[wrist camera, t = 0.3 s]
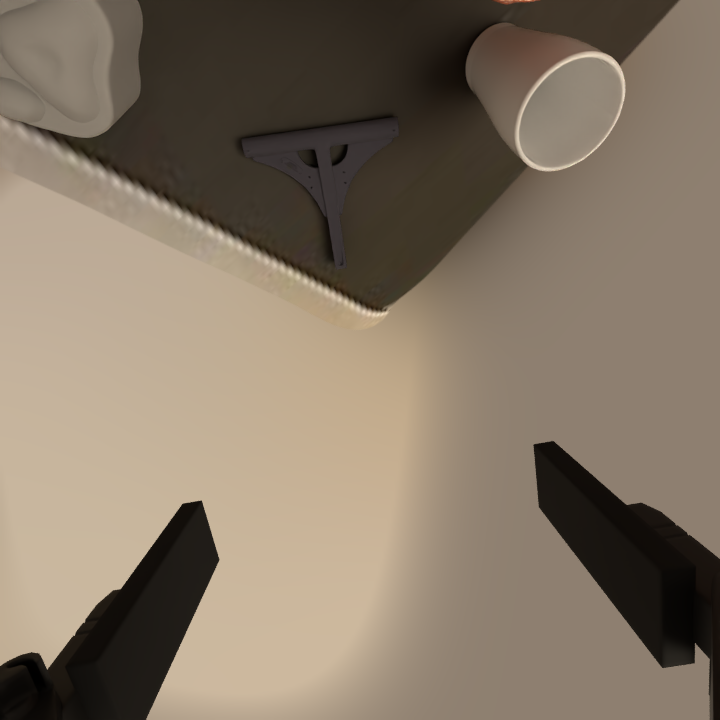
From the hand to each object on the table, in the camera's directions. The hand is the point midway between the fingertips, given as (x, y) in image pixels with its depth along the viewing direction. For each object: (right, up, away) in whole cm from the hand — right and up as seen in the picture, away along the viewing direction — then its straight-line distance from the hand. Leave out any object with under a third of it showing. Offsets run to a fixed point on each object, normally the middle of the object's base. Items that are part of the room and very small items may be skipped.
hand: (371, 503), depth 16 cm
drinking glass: (+11, +32, +19) cm, 39 cm away
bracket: (-4, +23, +27) cm, 36 cm away
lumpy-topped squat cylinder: (-24, +32, +15) cm, 43 cm away
